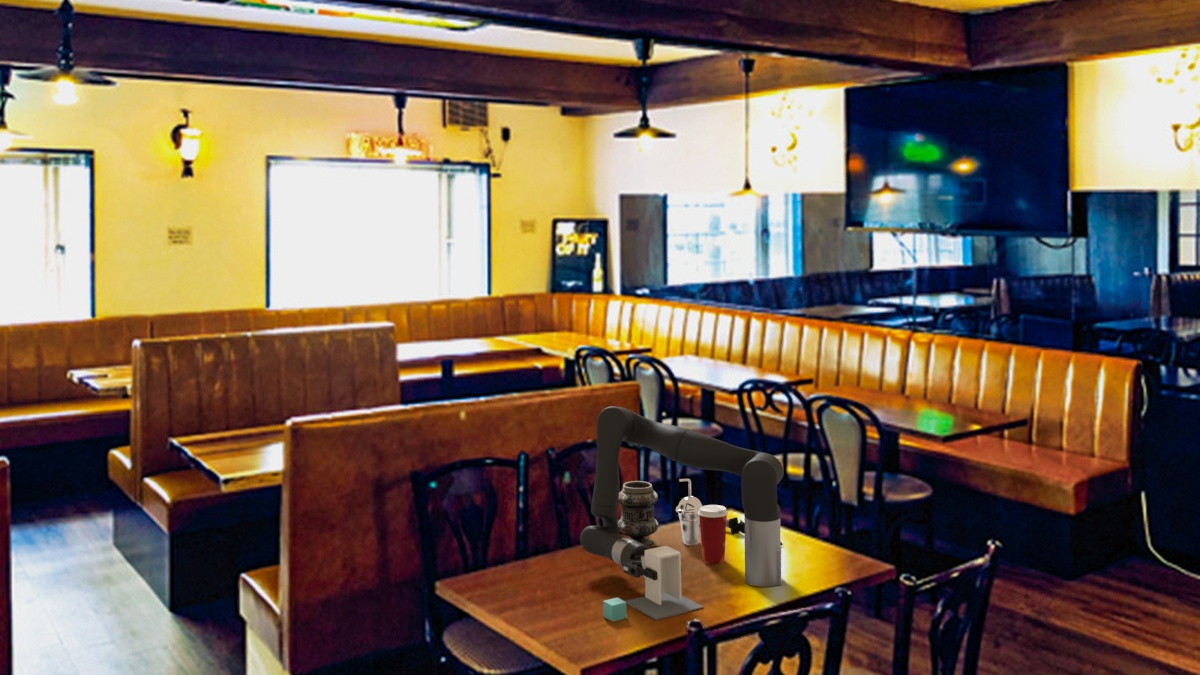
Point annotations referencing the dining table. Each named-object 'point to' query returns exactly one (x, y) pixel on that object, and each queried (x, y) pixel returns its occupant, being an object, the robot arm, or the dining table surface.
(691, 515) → the cup with straw
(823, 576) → the dining table surface
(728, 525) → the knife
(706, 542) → the coffee cup
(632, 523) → the apothecary jar
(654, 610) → the mat
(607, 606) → the block
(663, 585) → the cream rectangular box
